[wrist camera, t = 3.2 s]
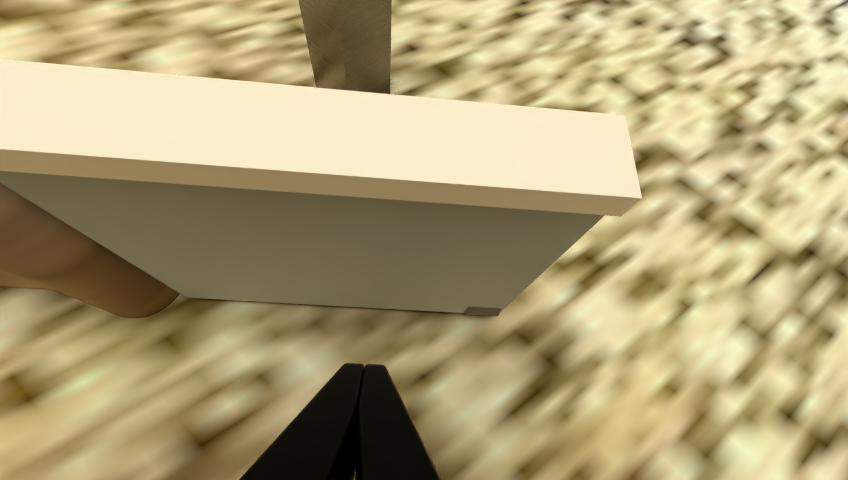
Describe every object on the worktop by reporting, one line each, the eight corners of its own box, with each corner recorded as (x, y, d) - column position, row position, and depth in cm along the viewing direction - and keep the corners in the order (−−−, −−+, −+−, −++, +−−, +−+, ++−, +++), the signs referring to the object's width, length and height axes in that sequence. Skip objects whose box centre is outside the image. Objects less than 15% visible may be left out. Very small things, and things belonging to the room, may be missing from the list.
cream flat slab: (186, 304, 15) (-95, 141, 6) (198, 258, 16) (-38, 55, 7) (498, 321, 16) (641, 198, 7) (496, 277, 17) (625, 115, 8)
